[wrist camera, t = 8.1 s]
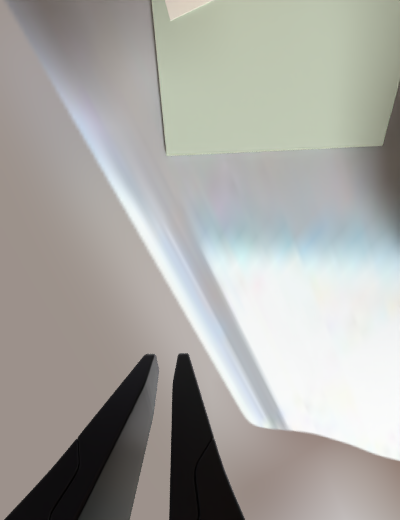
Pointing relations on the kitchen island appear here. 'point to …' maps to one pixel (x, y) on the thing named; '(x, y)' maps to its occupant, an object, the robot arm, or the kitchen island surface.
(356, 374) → the kitchen island surface
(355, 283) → the kitchen island surface
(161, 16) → the card
